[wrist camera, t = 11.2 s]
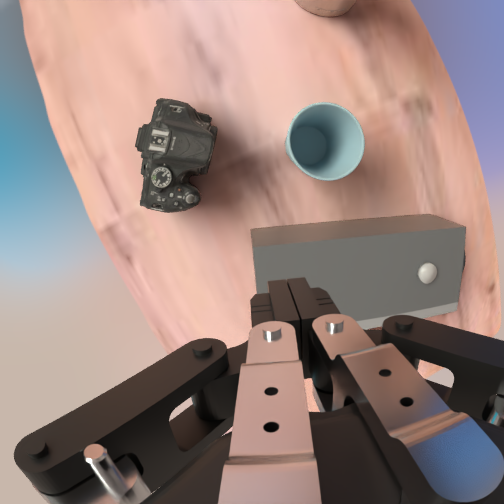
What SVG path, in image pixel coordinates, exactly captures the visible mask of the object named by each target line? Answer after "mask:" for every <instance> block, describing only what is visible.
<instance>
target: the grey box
mask: <svg viewBox="0 0 504 504" xmlns="http://www.w3.org/2000/svg"><path fill="white" fill-rule="evenodd" d="M465 233H466V227H465V226H462V225H459V224H457V223H454V222H451V221H448V220H446V219H443V218H440V217H437V216H434V215H431V214H422V215H408V216H395V217H381V218H369V219H356V220H344V221H332V222H321V223H309V224H298V225H287V226H277V227H266V228H256V229H251V239H252V249H253V259H254V269H255V279H256V290H257V294H262V293H268V286H267V281H273V280H282V279H286V280H287V279H291V278H301V277H305V278H306V280H307V282H308V284H309V286H310V288H316V287H320V288H321V289H323V290H325V291H327V292H328V294H329V295H330V297H331V299H332V300H333V302H334V303H335V305H336V307H337V308H338V310H339V312H340V313H341V314H342V315H347V316H349V317H351V318H353V319H354V320H355V321H356V322H357V323H358V324H359V326H360V327H361V328H362V329H364V330H365V329H370V328H376V327H382V324H383V321H384V320H385V319H387V318H388V317H391V316H394V315H410V316H414V317H418V318H421V319H423V318H427V317H432V316H436V315H441V314H445V313H450V312H454V311H457V306H458V299H459V292H460V285H461V277H462V272H463V270H464V266H465V250H464V248H465Z"/></svg>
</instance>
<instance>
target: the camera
mask: <svg viewBox="0 0 504 504" xmlns="http://www.w3.org/2000/svg"><path fill="white" fill-rule="evenodd" d="M156 104H157V106H156V107H155V108H154V112H153V116H152V120H151V122H150V123H149V124H144V125H143V126H142V128H141V127H140V128H139V130H138V135H137V140H136V144H135V147H137V150H138V151H140V152H142V154H141V158H143V161H142V168H141V174H142V175H143V177H144V181H143V189H142V196H141V200H140V205H141V206H144V207H146V208H147V209H151V210H156V211H161V212H167V213H170V212H179V211H185V210H187V209H190V208H192V207H194V206H196V205H198V204H199V202H200V200H201V194H200V191H199V190H198V189H197V188H196V187H195V186H194V185H192V184H190V183H189V177H190V176H192V175H196V176H198V175H199V173H200V174H201V175H206V174H207V172H208V168H209V165H210V161H211V157H212V153H213V149H214V144H215V140H216V135H217V127H215V126H211V124H210V122H211V119H212V118H211V117H210V116H209V115H207V114H203V113H198V112H196V110H195V109H193V108H192V107H191V106H190V105H189V104H188V103H184V102H181V101H176V100H172V99H163V98H160V99H158V100H157V101H156Z"/></svg>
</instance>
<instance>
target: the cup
mask: <svg viewBox="0 0 504 504" xmlns="http://www.w3.org/2000/svg"><path fill="white" fill-rule="evenodd" d="M285 147H286V153H287V155H288V156H289V158H290V159H291V161H292V162H293V163H294V164H295V165H297V167H298V168H299V169H301V170H302V171H303V172H304V173H305V174H307V175H309V176H311V177H313V178H315V179H319V180H325V181H331V180H337V179H341V178H343V177H345V176H347V175H349V174H350V173H351V172H352V171H354V169H355V168H356V167H357V166H358V164H359V163H360V161H361V159H362V156H363V153H364V147H365V140H364V134H363V131H362V128H361V126H360V124H359V122H358V121H357V119H356V118H355V117H354V116H353V114H352V113H350V112H349V111H348V110H347V109H345V108H343V107H341V106H339V105H337V104H333V103H327V102H321V103H315V104H311V105H309V106H307V107H305V108H303V109H302V110H301V111H300V112H298V114H297V115H296V116H295V117H294V119H293V120H292V122H291V124H290V127H289V130H288V134H287V137H286V141H285Z"/></svg>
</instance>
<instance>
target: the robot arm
mask: <svg viewBox="0 0 504 504" xmlns="http://www.w3.org/2000/svg"><path fill="white" fill-rule="evenodd" d="M295 1H296V3H298V4H299V5H300V6H301V7H302V8H304V9H305V10H307V11H309V12H311V13H313V14H316V15H320V16H327V17H332V16H339V15H342V14H344V13H346V12H347V11H348V10H350V8H351V7H352V6H353V4H354V3H355V2H356V1H357V0H295ZM267 286H268V293H262V294H255V295H254V296H253V298H252V299H251V300H250V302H251V320H252V329H251V330H250V333H249V340H248V341H246V342H245V343H243V344H241V345H239V346H236V347H232V348H229V349H227V347H226V345H225V343H224V342H222V341H220V340H218V339H213V338H203V339H197V340H194V341H191V342H189V343H187V344H185V345H184V346H182V347H181V348H179V349H177V350H176V351H174V352H172V353H171V354H169V355H167V356H166V357H164V358H163V359H161V360H159V361H158V362H156V363H155V364H153V365H151V366H149V367H148V368H146V369H144V370H143V371H141V372H139V373H137V374H136V375H134V376H132V377H131V378H129V379H127V380H126V381H124V382H122V383H121V384H119V385H117V386H115V387H114V388H112V389H110V390H108V391H107V392H105V393H103V394H101V395H100V396H98V397H96V398H94V399H93V400H91V401H89V402H88V403H86V404H84V405H82V406H80V407H79V408H77V409H75V410H74V411H71V412H70V413H68V414H66V415H64V416H62V417H60V418H59V419H57V420H55V421H53V422H52V423H49V424H48V425H46V426H44V427H42V428H40V429H38V430H36V431H35V432H33V433H31V434H29V435H27V436H26V437H24V438H23V439H22V440H21V441H20V442H19V443H18V444H17V446H16V448H15V452H14V459H15V462H16V464H17V465H18V467H19V468H20V469H21V470H22V472H23V473H24V474H25V475H26V477H27V478H28V479H29V480H30V481H31V482H32V485H33V487H34V488H35V489H36V490H37V491H38V493H39V494H40V495H41V496H42V497H43V498H44V499H45V500H46V501H47V502H48V503H49V504H504V341H502V340H498V339H495V338H491V337H487V336H484V335H480V334H476V333H472V332H469V331H465V330H461V329H458V328H454V327H450V326H447V325H443V324H439V323H436V322H432V321H429V320H425V319H421V318H418V317H414V316H410V315H394V316H391V317H388V318H387V319H385V320H384V321H383V324H382V330H364V329H362V328H361V327H360V326H359V324H358V323H357V322H356V321H355V320H354V319H353V318H351V317H349V316H347V315H342V314H341V313H340V312H339V310H338V308H337V307H336V305H335V303H334V302H333V300H332V299H331V297H330V295H329V294H328V292H327V291H325V290H323V289H321V288H320V287H316V288H310V286H309V284H308V282H307V280H306V278H305V277H301V278H291V279H287V280H286V279H282V280H273V281H267ZM420 359H421V360H424V361H427V362H430V363H433V364H436V365H439V366H442V367H445V368H447V369H449V370H450V371H451V372H452V373H453V375H454V383H453V386H452V388H450V387H447V386H444V385H440V384H438V383H435V382H432V381H429V380H426V379H424V378H423V377H422V376H421V375H420V374H419V373H418V372H417V370H418V365H419V360H420ZM307 378H312V381H313V396H314V399H315V401H316V403H317V406H318V408H319V411H320V412H308V405H307V397H306V390H305V383H304V379H307ZM496 394H497V395H496ZM190 397H191V398H192V402H193V405H191V406H190V407H188V408H187V409H186V410H184V411H183V412H182V413H180V414H179V415H178V416H176V417H175V418H174V419H172V420H171V421H169V418H170V415H171V413H172V411H173V410H174V409H175V408H176V407H177V406H179V405H180V404H181V403H183V402H184V401H185V400H187V399H188V398H190ZM232 426H233V430H232V431H231V432H229V433H227V434H225V435H223V434H224V433H226V432H227V431H228V430H229V429H230V428H231V427H232ZM222 435H223V436H222ZM160 486H161V487H160ZM159 487H160V488H159ZM156 489H157V490H156ZM155 490H156V491H155ZM154 491H155V492H154ZM152 492H154V493H152ZM151 493H152V494H151Z"/></svg>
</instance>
